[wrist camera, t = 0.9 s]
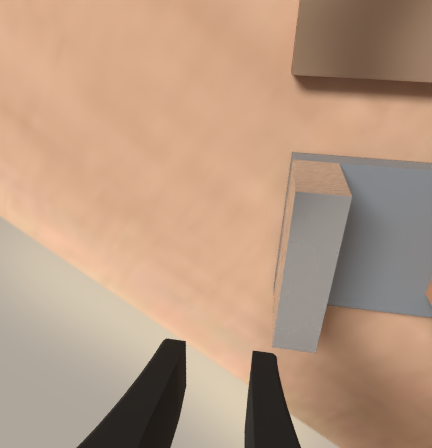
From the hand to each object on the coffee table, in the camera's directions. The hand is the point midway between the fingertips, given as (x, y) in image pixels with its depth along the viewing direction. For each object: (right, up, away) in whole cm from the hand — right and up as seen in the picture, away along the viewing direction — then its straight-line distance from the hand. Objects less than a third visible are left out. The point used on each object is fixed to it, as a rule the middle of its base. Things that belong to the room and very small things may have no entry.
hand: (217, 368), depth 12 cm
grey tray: (+10, +4, +7) cm, 13 cm away
